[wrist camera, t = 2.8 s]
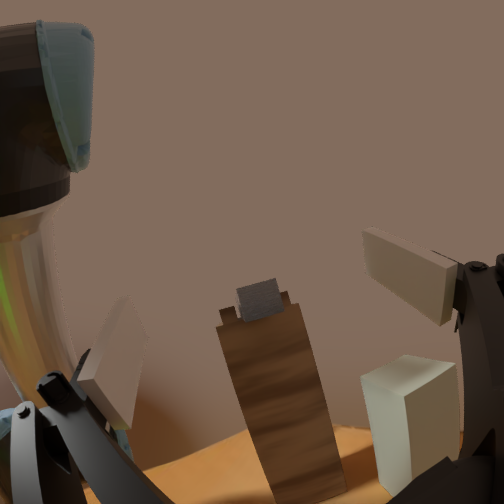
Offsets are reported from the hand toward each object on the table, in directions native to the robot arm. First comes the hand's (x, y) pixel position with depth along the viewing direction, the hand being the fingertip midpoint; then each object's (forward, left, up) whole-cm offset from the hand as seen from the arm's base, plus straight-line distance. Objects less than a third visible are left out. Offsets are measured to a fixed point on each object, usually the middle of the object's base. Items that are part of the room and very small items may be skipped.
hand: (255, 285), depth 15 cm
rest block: (0, +18, -32) cm, 37 cm away
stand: (-17, +16, -32) cm, 40 cm away
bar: (-15, +14, -2) cm, 21 cm away
